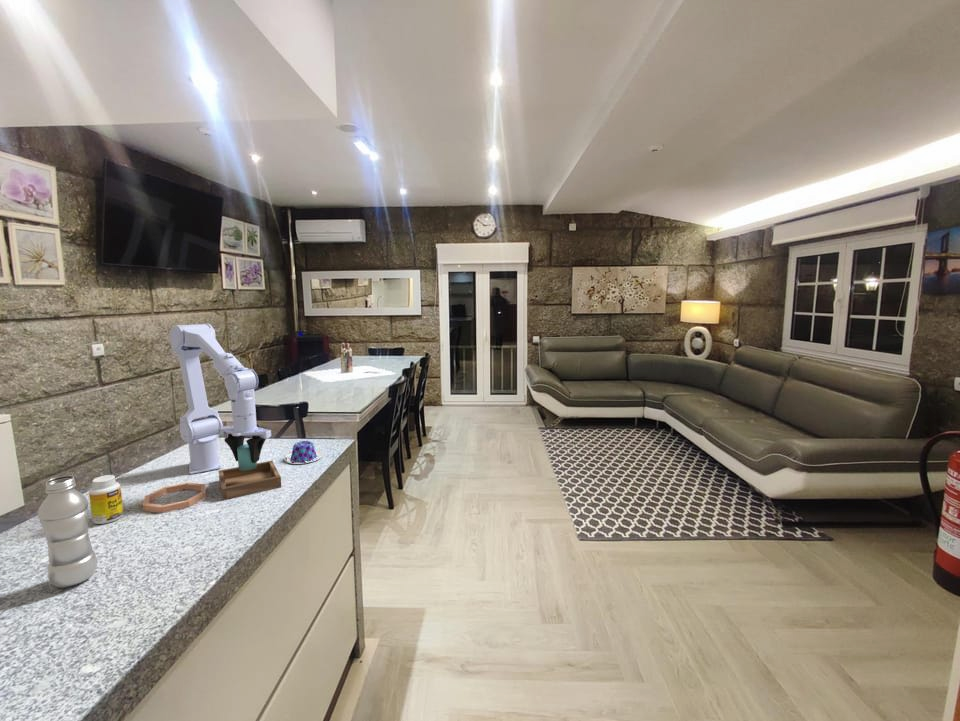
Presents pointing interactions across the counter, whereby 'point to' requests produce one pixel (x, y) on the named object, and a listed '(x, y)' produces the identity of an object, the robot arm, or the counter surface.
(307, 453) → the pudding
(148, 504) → the collar
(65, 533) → the plastic bottle
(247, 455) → the teal tapered cylinder
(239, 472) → the tray
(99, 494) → the supplement bottle
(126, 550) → the counter surface
